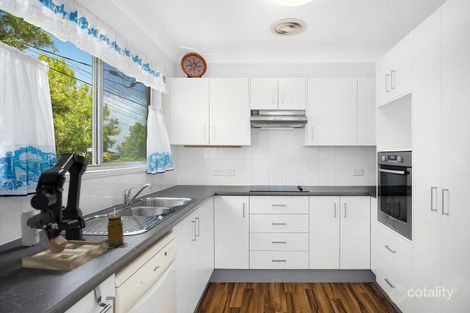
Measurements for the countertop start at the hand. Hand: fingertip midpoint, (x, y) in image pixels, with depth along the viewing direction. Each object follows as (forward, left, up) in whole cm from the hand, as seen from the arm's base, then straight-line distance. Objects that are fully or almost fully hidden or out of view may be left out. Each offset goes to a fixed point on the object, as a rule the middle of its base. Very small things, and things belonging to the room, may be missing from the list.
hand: (52, 244), depth 102 cm
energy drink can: (-11, -24, -5) cm, 27 cm away
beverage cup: (-24, +9, -5) cm, 26 cm away
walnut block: (0, +1, -1) cm, 2 cm away
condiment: (-16, +16, -5) cm, 24 cm away
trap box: (0, +6, -5) cm, 8 cm away
